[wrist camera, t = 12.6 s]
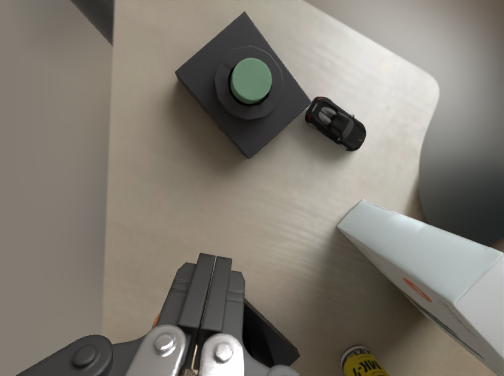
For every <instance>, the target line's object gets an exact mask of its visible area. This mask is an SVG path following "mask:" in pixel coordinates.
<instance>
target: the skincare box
mask: <svg viewBox="0 0 504 376" xmlns="http://www.w3.org/2000/svg"><path fill="white" fill-rule="evenodd" d="M337 228H338V229H339V230H340V231H341V232H342V233H343V234H344V235H345V236H346V237H347V238H348V239H349V240H350V241H351V242H352V243H353V244H354V245H355V246H356V247H357V248H358V249H359V250H360V251H361V252H362V253H363V254H364V255H365V256H366V257H367V258H368V259H369V260H370V261H371V262H372V263H373V264H374V265H375V266H376V267H377V268H378V269H379V270H380V271H381V272H382V273H383V274H384V275H385V276H386V277H387V278H388V279H389V280H390V281H391V282H392V283H393V284H394V285H395V286H396V287H397V288H398V289H399V290H400V291H401V292H402V293H403V294H404V295H405V296H406V297H407V298H408V299H409V300H410V301H411V302H412V303H413V304H414V305H415V306H416V307H417V308H418V309H419V310H420V311H421V312H422V313H423V314H424V315H425V316H426V317H427V318H428V319H429V320H431V321H432V322H433V323H434V324H436V325H437V326H438V327H439V328H440V329H442V330H443V331H444V332H445V333H446V334H448V335H449V336H450V337H451V338H453V339H454V340H455V341H456V342H458V343H459V344H460V345H461V346H462V347H464V348H465V349H466V350H467V351H469V352H470V353H471V354H472V355H474V356H475V357H476V358H477V359H478V360H480V361H481V362H482V363H483V364H485V365H486V366H487V367H488V368H489V369H491V370H492V371H493V372H494V373H496V374H497V375H498V376H504V253H503V252H500V251H497V250H495V249H493V248H489V247H486V246H484V245H481V244H478V243H476V242H473V241H470V240H468V239H465V238H462V237H460V236H457V235H454V234H452V233H449V232H446V231H444V230H441V229H438V228H435V227H433V226H430V225H428V224H425V223H423V222H420V221H417V220H415V219H412V218H410V217H407V216H404V215H402V214H399V213H396V212H393V211H391V210H388V209H385V208H383V207H380V206H378V205H375V204H373V203H370V202H368V201H365V200H361V201H360V202H359V203H358V204H357V205H356V206H355V207H354V208H353V209H352V210H351V211H350V212H349V213H348V214H347V215H346V216H345V217H344V218H343V220H342V221H341V222H340V223H339V224H338V225H337Z"/></svg>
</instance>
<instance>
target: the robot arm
mask: <svg viewBox="0 0 504 376" xmlns="http://www.w3.org/2000/svg"><path fill="white" fill-rule="evenodd" d="M215 257H216V256H214V255H209V254H204V253H200V255H199V258H198V261H197V264H192V263H187V262H186V263H185V264H184V265H183V266H182V267H180V268H179V269H178V271H177V273H176V276H175V278H174V281H173V283H172V286H171V288H170V290H169V293H168V295H167V298H166V300H165V303H164V305H163V308H162V310H161V312H160V315H159V317H158V320H157V322H156V324H155V326H154V327H153V328H152V330H151V331H150V332H148V333H147V334H146V335H144V336H143V337H141V338H139V339H137V340H134V341H130V342H124V343H118V344H111V342H110V340H109V339H108V338H106V337H104V336H101V335H89V336H86V337H83V338H80V339H78V340H77V341H75V342H73V343H71V344H69V345H68V346H66V347H64V348H62V349H61V350H59V351H57V352H56V353H54V354H52V355H51V356H49V357H47V358H45V359H44V360H42V361H40V362H38V363H37V364H35V365H33V366H31V367H30V368H28V369H26V370H25V371H23V372H21V373H20V374H18V375H16V376H184V371H185V369H191V366H192V362H193V358H194V353H195V349H196V344H197V340H198V336H199V340H198V345H197V350H196V355H195V360H194V365H193V370H198V372H197V376H300V375H299V373H298V372H297V371H296V370H294V369H293V368H291V367H289V366H287V365H276V366H273V367H272V368H269V367H267V366H265V365H263V364H261V363H260V362H258V361H256V360H255V359H253V358H252V357H251V356H250V355H249V354H248V352H247V351H246V349H245V347H244V345H243V341H242V328H243V311H244V292H245V280H244V278H243V275H242V273H241V272H237V271H231V264H232V259H231V258H226V257H220V256H217V258H216V263H215V267H214V262H215ZM213 267H214V271H213ZM212 272H213V276H212ZM211 277H212V280H211ZM210 282H211V285H210ZM209 287H210V289H209ZM208 291H209V294H208ZM207 296H208V298H207ZM206 300H207V303H206ZM205 305H206V307H205ZM204 309H205V312H204ZM203 314H204V316H203ZM202 318H203V321H202ZM201 322H202V325H201ZM200 327H201V330H200ZM199 331H200V335H199Z"/></svg>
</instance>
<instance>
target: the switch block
mask: <svg viewBox="0 0 504 376" xmlns="http://www.w3.org/2000/svg"><path fill="white" fill-rule="evenodd" d="M247 58H255V59H258V60H260V61H262V62H263V63H264V64H265V65H266V66H267V67H268V69H269V70H270V73H271V77H272V84H271V88H270V90H269V92H268V93H267V94H266V96H265V97H264V98H263V99H262V100H260V101H259V102H257V103H254V104H245V103H243V102H241V101H239V100H238V99H237V98H236V97H235V96H234V94H233V92H232V90H231V83H230V82H231V77H232V73H233V70H234V68H235V66H236V65H237V64H238V63H239V62H240V61H242V60H244V59H247ZM175 73H176V76H177V78H178V80H179V81H180V82H181V83H182V84H183V86H184V87H185V88H186V89H187V90H188V91H189V93H190V94H191V95H192V96H193V97H194V98H195V100H196V101H197V102H198V103H199V104H200V105H201V106H202V108H203V109H204V110H205V111H206V112H207V113H208V115H209V116H210V117H211V118H212V119H213V120H214V122H215V123H216V124H217V125H218V126H219V127H220V128H221V130H222V131H223V132H224V133H225V134H226V135H227V137H228V138H229V139H230V140H231V141H232V142H233V144H234V145H235V146H236V147H237V148H238V149H239V151H240V152H241V153H242V154H243V155H244V156H245V157H246V158H248V159H250V158H251V157H252V156H253V155H254V154H256V153H257V152H258V151H259V150H260V149H261V148H262V147H263V146H264V145H266V144H267V143H268V142H269V141H270V140H271V139H272V138H273V137H275V136H276V135H277V134H278V133H279V132H280V131H281V130H282V129H283V128H285V127H286V126H287V125H288V124H289V123H290V122H291V121H292V120H294V119H295V118H296V117H297V116H298V115H299V114H300V113H301V112H302V111H304V110H305V109H306V108H307V107H308V106H309V105H310V104H311V103H312V102H311V101H310V99H309V98H308V97H307V95H306V94H305V93H304V91H303V90H302V88H301V87H300V86H299V84H298V83H297V82H296V80H295V79H294V78H293V76H292V75H291V74H290V72H289V71H288V70H287V68H286V67H285V65H284V64H283V63H282V61H281V60H280V59H279V57H278V56H277V55H276V53H275V52H274V51H273V49H272V48H271V46H270V45H269V44H268V42H267V41H266V40H265V38H264V37H263V36H262V34H261V33H260V32H259V30H258V29H257V28H256V26H255V25H254V23H253V22H252V21H251V19H250V18H249V17H248V15H247V14H246V13H245V12H243V13H242V14H241V15H240V16H239V17H238V18H236V19H235V20H234V21H233V22H232V23H231V24H230V25H228V26H227V27H226V28H225V29H224V30H223V31H222V32H220V33H219V34H218V35H217V36H216V37H215V38H213V39H212V40H211V41H210V42H209V43H208V44H207V45H205V46H204V47H203V48H202V49H201V50H200V51H199V52H197V53H196V54H195V55H194V56H193V57H192V58H190V59H189V60H188V61H187V62H186V63H185V64H184V65H182V66H181V67H180V68H179V69H178V70H177V71H175Z"/></svg>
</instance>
